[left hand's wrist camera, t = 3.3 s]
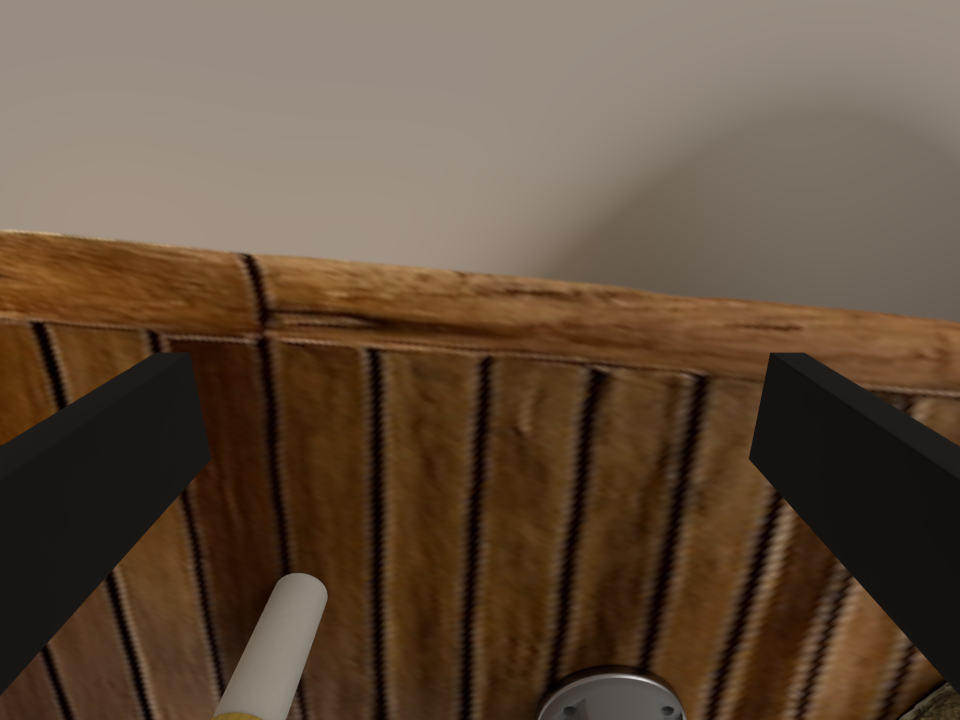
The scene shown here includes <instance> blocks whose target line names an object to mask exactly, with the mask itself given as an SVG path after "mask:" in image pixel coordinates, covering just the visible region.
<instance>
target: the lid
mask: <svg viewBox="0 0 960 720" xmlns="http://www.w3.org/2000/svg"><path fill="white" fill-rule="evenodd" d="M209 720H263V719H261V718H259V717H256V716H254V715H250V714H245V713H224V714H220V715H217V716H215V717H213V718H211V719H209Z"/></svg>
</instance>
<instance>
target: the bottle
mask: <svg viewBox="0 0 960 720" xmlns="http://www.w3.org/2000/svg"><path fill="white" fill-rule="evenodd" d="M327 597H328V595H327V590H326V588H325V586H324V585H323V584H322V582H320V581H319V580H318V579H317V578H315V577H313V576H311V575H308V574H304V573H293V574H289V575H286V576H284V577H282V578H281V579H280V580H279V581H278V582H277V584H276V586H275V588H274V590H273V592H272V594H271V596H270V598H269V600H268V602H267V604H266V607H265V609H264V611H263V613H262V615H261V617H260V619H259V621H258V623H257V625H256V627H255V630H254V632H253V634H252V636H251V638H250V640H249V642H248V644H247V646H246V648H245V651H244V653H243V655H242V657H241V659H240V661H239V663H238V665H237V667H236V669H235V671H234V674H233V676H232V678H231V680H230V682H229V684H228V686H227V688H226V690H225V692H224V695H223V697H222V699H221V701H220V703H219V705H218V707H217V709H216V711H215V713H214V715H213V717H215V716H217V715H220V714H224V713H245V714H250V715H254V716H256V717H259V718H261V719H263V720H286V718H287V715H288V712H289V709H290V706H291V703H292V700H293V698H294V695H295V692H296V689H297V686H298V683H299V680H300V677H301V674H302V671H303V669H304V666H305V663H306V660H307V657H308V654H309V651H310V648H311V645H312V643H313V640H314V637H315V634H316V631H317V628H318V625H319V622H320V619H321V616H322V614H323V611H324V608H325V605H326V602H327Z"/></svg>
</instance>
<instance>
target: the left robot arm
mask: <svg viewBox="0 0 960 720" xmlns="http://www.w3.org/2000/svg"><path fill="white" fill-rule="evenodd" d="M210 460H211V456H210V451H209V446H208V441H207V436H206V431H205V426H204V421H203V416H202V411H201V406H200V401H199V397H198V392H197V387H196V382H195V377H194V372H193V367H192V362H191V357H190V353H154V354H153V355H151V356H149V357H148V358H146V359H145V360H143V361H141V362H140V363H138V364H136V365H135V366H133V367H131V368H130V369H128V370H126V371H125V372H123V373H121V374H120V375H118V376H116V377H115V378H113V379H111V380H110V381H108V382H106V383H105V384H103V385H101V386H100V387H98V388H96V389H95V390H93V391H91V392H90V393H88V394H86V395H85V396H83V397H82V398H80V399H78V400H77V401H75V402H73V403H72V404H70V405H68V406H67V407H65V408H63V409H62V410H60V411H58V412H57V413H55V414H53V415H52V416H50V417H48V418H47V419H45V420H43V421H42V422H40V423H38V424H37V425H35V426H33V427H32V428H30V429H28V430H27V431H25V432H23V433H22V434H20V435H19V436H17V437H15V438H14V439H12V440H10V441H9V442H7V443H5V444H4V445H2V446H0V695H1V694H2V693H3V692H4V691H5V690H6V689H7V688H8V686H9V685H10V684H11V683H12V682H13V681H14V680H15V679H16V677H17V676H18V675H19V674H20V673H21V672H22V671H23V670H24V668H25V667H26V666H27V665H28V664H29V663H30V662H31V661H32V659H33V658H34V657H35V656H36V655H37V654H38V653H39V652H40V651H41V649H42V648H43V647H44V646H45V645H46V644H47V643H48V642H49V640H50V639H51V638H52V637H53V636H54V635H55V634H56V633H57V631H58V630H59V629H60V628H61V627H62V626H63V625H64V624H65V622H66V621H67V620H68V619H69V618H70V617H71V616H72V615H73V613H74V612H75V611H76V610H77V609H78V608H79V607H80V606H81V604H82V603H83V602H84V601H85V600H86V599H87V598H88V597H89V595H90V594H91V593H92V592H93V591H94V590H95V589H96V588H97V587H98V585H99V584H100V583H101V582H102V581H103V580H104V579H105V578H106V576H107V575H108V574H109V573H110V572H111V571H112V570H113V569H114V567H115V566H116V565H117V564H118V563H119V562H120V561H121V560H122V558H123V557H124V556H125V555H126V554H127V553H128V552H129V551H130V549H131V548H132V547H133V546H134V545H135V544H136V543H137V542H138V540H139V539H140V538H141V537H142V536H143V535H144V534H145V533H146V532H147V530H148V529H149V528H150V527H151V526H152V525H153V524H154V523H155V521H156V520H157V519H158V518H159V517H160V516H161V515H162V514H163V512H164V511H165V510H166V509H167V508H168V507H169V506H170V505H171V503H172V502H173V501H174V500H175V499H176V498H177V497H178V496H179V494H180V493H181V492H182V491H183V490H184V489H185V488H186V487H187V485H188V484H189V483H190V482H191V481H192V480H193V479H194V478H195V477H196V475H197V474H198V473H199V472H200V471H201V470H202V469H203V468H204V466H205V465H206V464H207V463H208V462H209V461H210ZM749 460H750V461H751V462H752V463H753V464H754V465H755V466H756V468H757V469H758V470H759V471H760V472H761V473H762V474H763V475H764V477H765V478H766V479H767V480H768V481H769V482H770V483H771V484H772V485H773V487H774V488H775V489H776V490H777V491H778V492H779V493H780V494H781V496H782V497H783V498H784V499H785V500H786V501H787V502H788V503H789V505H790V506H791V507H792V508H793V509H794V510H795V511H796V512H797V514H798V515H799V516H800V517H801V518H802V519H803V520H804V521H805V523H806V524H807V525H808V526H809V527H810V528H811V529H812V530H813V532H814V533H815V534H816V535H817V536H818V537H819V538H820V539H821V540H822V542H823V543H824V544H825V545H826V546H827V547H828V548H829V549H830V551H831V552H832V553H833V554H834V555H835V556H836V557H837V558H838V560H839V561H840V562H841V563H842V564H843V565H844V566H845V567H846V569H847V570H848V571H849V572H850V573H851V574H852V575H853V576H854V578H855V579H856V580H857V581H858V582H859V583H860V584H861V585H862V587H863V588H864V589H865V590H866V591H867V592H868V593H869V594H870V596H871V597H872V598H873V599H874V600H875V601H876V602H877V603H878V604H879V606H880V607H881V608H882V609H883V610H884V611H885V612H886V613H887V615H888V616H889V617H890V618H891V619H892V620H893V621H894V622H895V624H896V625H897V626H898V627H899V628H900V629H901V630H902V631H903V633H904V634H905V635H906V636H907V637H908V638H909V639H910V640H911V642H912V643H913V644H914V645H915V646H916V647H917V648H918V649H919V651H920V652H921V653H922V654H923V655H924V656H925V657H926V658H927V659H928V661H929V662H930V663H931V664H932V665H933V666H934V667H935V668H936V670H937V671H938V672H939V673H940V674H941V675H942V676H943V677H944V679H945V680H946V681H947V682H948V683H949V684H950V685H951V686H952V688H953V689H954V690H955V691H956V692H957V693H958V694H959V695H960V446H958V445H956V444H955V443H953V442H951V441H950V440H948V439H946V438H945V437H943V436H941V435H940V434H938V433H937V432H935V431H933V430H932V429H930V428H928V427H927V426H925V425H923V424H922V423H920V422H918V421H917V420H915V419H913V418H912V417H910V416H908V415H907V414H905V413H903V412H902V411H900V410H898V409H897V408H895V407H893V406H892V405H890V404H888V403H887V402H885V401H883V400H882V399H880V398H878V397H877V396H875V395H874V394H872V393H870V392H869V391H867V390H865V389H864V388H862V387H860V386H859V385H857V384H855V383H854V382H852V381H850V380H849V379H847V378H845V377H844V376H842V375H840V374H839V373H837V372H835V371H834V370H832V369H830V368H829V367H827V366H825V365H824V364H822V363H820V362H819V361H817V360H815V359H814V358H812V357H811V356H809V355H807V354H806V353H770V357H769V362H768V367H767V372H766V377H765V382H764V387H763V392H762V397H761V401H760V406H759V411H758V416H757V421H756V426H755V431H754V436H753V441H752V446H751V451H750V456H749ZM535 720H687V719H686V715H685V712H684V709H683V706H682V703H681V701H680V698H679V696H678V695H677V693H676V692H675V690H674V689H673V688H672V687H671V686H670V685H669V684H668V683H667V682H666V681H664V680H663V679H662V678H660V677H658V676H656V675H654V674H652V673H650V672H647V671H644V670H641V669H637V668H632V667H624V666H606V667H598V668H593V669H589V670H585V671H582V672H579V673H576V674H574V675H572V676H570V677H568V678H566V679H564V680H562V681H561V682H559V683H558V684H557V685H555V686H554V687H553V688H552V689H551V690H550V691H549V692H548V693H547V694H546V695H545V696H544V698H543V699H542V701H541V702H540V704H539V706H538V709H537V712H536V717H535Z"/></svg>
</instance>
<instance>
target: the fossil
mask: <svg viewBox="0 0 960 720" xmlns="http://www.w3.org/2000/svg"><path fill="white" fill-rule="evenodd" d="M899 720H960V695H959V694H958V693H957V692H956V691H955V690H954V689H953V688H952V686H951V685H950V684H949V683H948V682H947V683H945V684H944V685H943V686H942V687H941V688H939V689H938V690H936V691H934V692H933V693H932V694H931V695H929V696H928V697H927V698H925V699H924V700H923V701H921V702H920V703H918V704H917V705H916V706H915V708H914V709H913V710H911V711H910V712H908V713H906V714H905V715H903V716H902V717H901V718H900V719H899Z"/></svg>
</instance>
